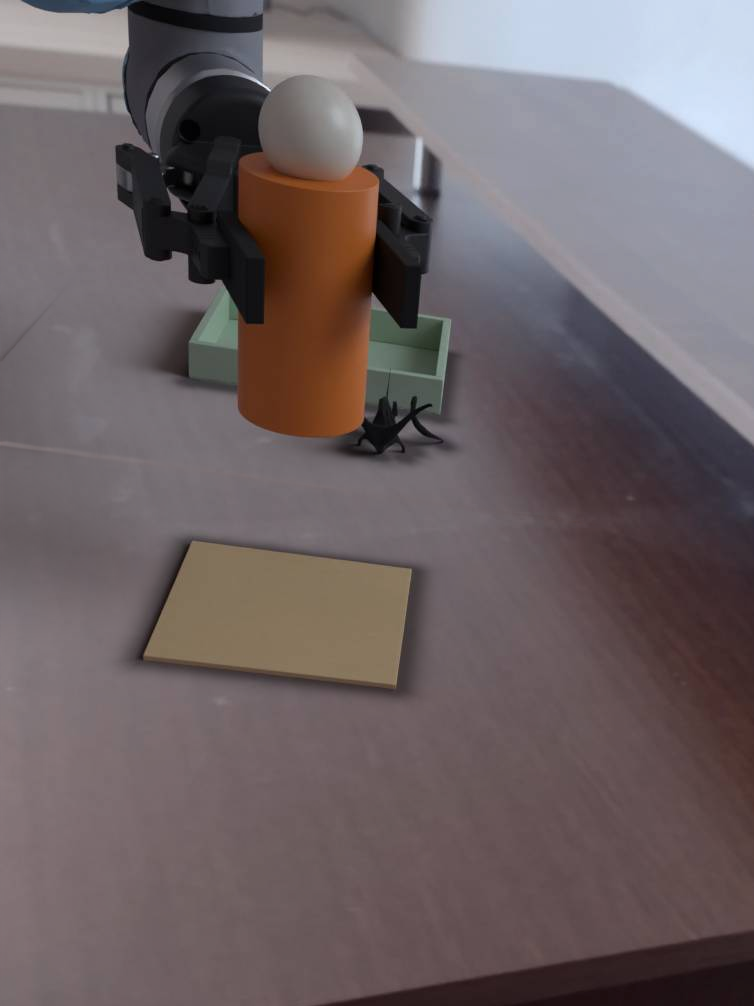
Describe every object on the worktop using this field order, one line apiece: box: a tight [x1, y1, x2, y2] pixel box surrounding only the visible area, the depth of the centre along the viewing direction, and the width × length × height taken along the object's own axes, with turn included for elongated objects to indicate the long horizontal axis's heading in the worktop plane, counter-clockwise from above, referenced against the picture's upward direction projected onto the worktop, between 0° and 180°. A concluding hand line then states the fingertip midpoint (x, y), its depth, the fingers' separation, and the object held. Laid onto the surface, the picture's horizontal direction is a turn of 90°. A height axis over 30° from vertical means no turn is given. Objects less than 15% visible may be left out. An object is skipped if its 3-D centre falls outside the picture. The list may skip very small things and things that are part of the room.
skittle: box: [237, 74, 379, 439], centre depth 60 cm, size 6×6×15 cm
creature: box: [356, 368, 445, 455], centre depth 86 cm, size 8×5×8 cm
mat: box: [142, 540, 413, 690], centre depth 69 cm, size 12×12×1 cm
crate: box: [187, 283, 452, 415], centre depth 95 cm, size 17×13×3 cm
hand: (335, 294), depth 56 cm, fingers closed on skittle, 6 cm apart
